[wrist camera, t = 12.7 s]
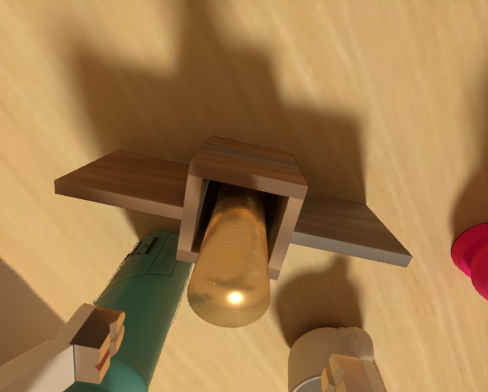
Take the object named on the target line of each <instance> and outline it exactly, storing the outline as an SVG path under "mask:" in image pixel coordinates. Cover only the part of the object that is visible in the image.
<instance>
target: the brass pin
mask: <svg viewBox="0 0 488 392" xmlns="http://www.w3.org/2000/svg"><path fill="white" fill-rule="evenodd" d="M187 298H188V302H189V304H190V306H191V308H192V309H193V311H194V312H195V313H196V314H197V315H198V316H199V317H200V318H202V319H203V320H205V321H206V322H208V323H211V324H213V325H216V326H220V327H227V328H236V327H242V326H246V325H249V324H251V323H253V322H255V321H257V320H258V319H260V318H261V317H262V316H263V315H264V314H265V312H266V311H267V309H268V307H269V304H270V298H271V296H270V281H269V266H268V252H267V237H266V223H265V208H264V193H263V191H260V190H255V189H251V188H246V187H242V186H237V185H232V184H228V183H222V186H221V189H220V192H219V195H218V198H217V201H216V204H215V207H214V210H213V213H212V216H211V219H210V222H209V225H208V228H207V231H206V234H205V237H204V240H203V243H202V246H201V249H200V252H199V255H198V258H197V261H196V264H195V267H194V270H193V273H192V276H191V279H190V282H189V285H188V288H187Z"/></svg>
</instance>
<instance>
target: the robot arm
mask: <svg viewBox="0 0 488 392" xmlns="http://www.w3.org/2000/svg"><path fill="white" fill-rule="evenodd" d="M124 319H125V312H122V311H118V310H113V309H109V308H105V307H101V306H96V305H91V304H87V303H84V304H83V305H81V306H80V307H79V308H78V310H77V311H76V312H75V313H74V315H73V316H72V317H71V318H70V320H69V321H68V322H67V324H66V325H65V326H64V327H63V329H62V330H61V331H60V332H59V334H58V335H57V336H56V337H55V339H54V340H53V341H49V340H48V341H46V342H44V343H43V344H41V345H39V346H37V347H35V348H33V349H32V350H30V351H28V352H26V353H24V354H22V355H21V356H19V357H17V358H15V359H13V360H11V361H10V362H8V363H6V364H4V365H2V366H0V392H63V391H64V390H65V389H67V388H68V387H69V386H70V385H72V384H73V383H74V382H75V380H76V381H83V382H89V383H95V384H100V383H101V381H102V379H103V377H104V375H105V373H106V372H107V370H108V368H109V366H110V357H112V356H113V355H115V354H116V353H117V351H118V349H119V347H120V344H121V341H122V339H123V335H124V326H123V324H122V323H123V321H124ZM329 363H330V365H328V366H326V367H325V368H324V370H323V372H322V379H321V384H322V391H323V392H385V390H384V387H383V385H382V382H381V380H380V377H379V375H378V373H377V370H376V368H375V365H374V364H373V362H372V361H367V360H362V359H358V358H354V357H348V356H343V355H338V354H332V355H331V356H330V358H329Z"/></svg>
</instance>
